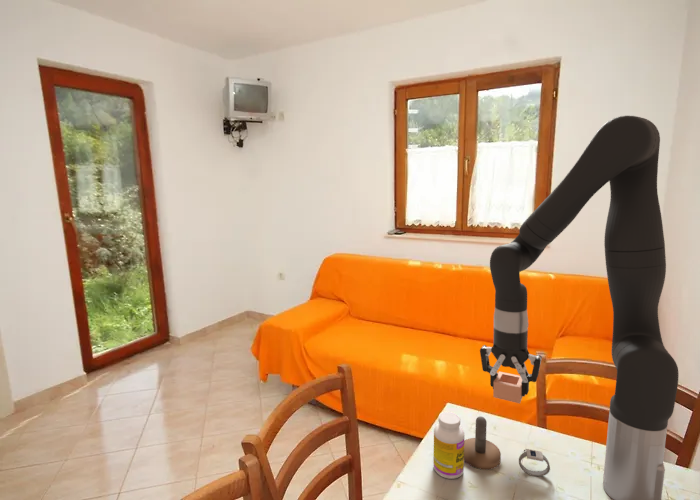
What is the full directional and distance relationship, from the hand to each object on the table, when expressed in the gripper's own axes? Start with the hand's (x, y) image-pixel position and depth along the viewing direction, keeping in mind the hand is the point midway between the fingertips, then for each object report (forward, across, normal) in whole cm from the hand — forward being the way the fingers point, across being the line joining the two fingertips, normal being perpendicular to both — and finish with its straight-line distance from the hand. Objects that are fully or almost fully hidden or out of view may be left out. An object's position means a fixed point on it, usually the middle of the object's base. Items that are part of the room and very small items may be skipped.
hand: (509, 391), depth 95 cm
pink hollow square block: (+1, 0, 0) cm, 1 cm away
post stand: (+13, -4, -9) cm, 17 cm away
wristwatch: (+14, +7, -9) cm, 18 cm away
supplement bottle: (+13, -9, -17) cm, 24 cm away
